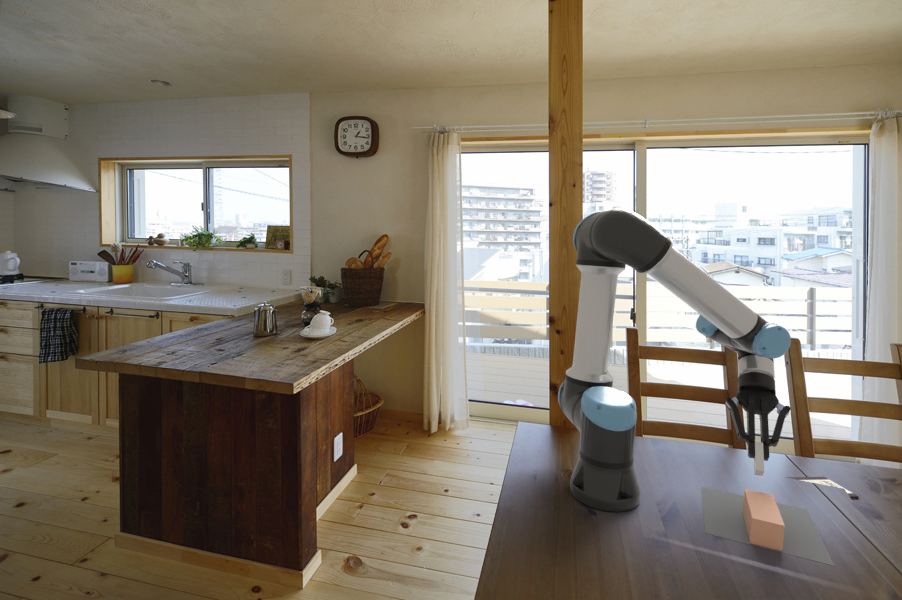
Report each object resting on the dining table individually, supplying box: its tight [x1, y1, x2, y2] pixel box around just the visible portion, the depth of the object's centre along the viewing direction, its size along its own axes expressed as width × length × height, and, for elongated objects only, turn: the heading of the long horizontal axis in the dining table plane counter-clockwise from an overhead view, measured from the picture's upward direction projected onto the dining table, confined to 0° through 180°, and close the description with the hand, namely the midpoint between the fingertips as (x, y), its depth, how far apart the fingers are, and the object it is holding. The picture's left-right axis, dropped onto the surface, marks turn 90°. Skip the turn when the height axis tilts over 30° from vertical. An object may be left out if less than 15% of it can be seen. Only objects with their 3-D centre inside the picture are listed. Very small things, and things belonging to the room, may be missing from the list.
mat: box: [700, 486, 835, 567], centre depth 94 cm, size 20×20×1 cm
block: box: [743, 488, 785, 551], centre depth 91 cm, size 5×5×12 cm
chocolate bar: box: [784, 476, 859, 500], centre depth 108 cm, size 9×1×18 cm
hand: (759, 472), depth 99 cm, fingers closed
